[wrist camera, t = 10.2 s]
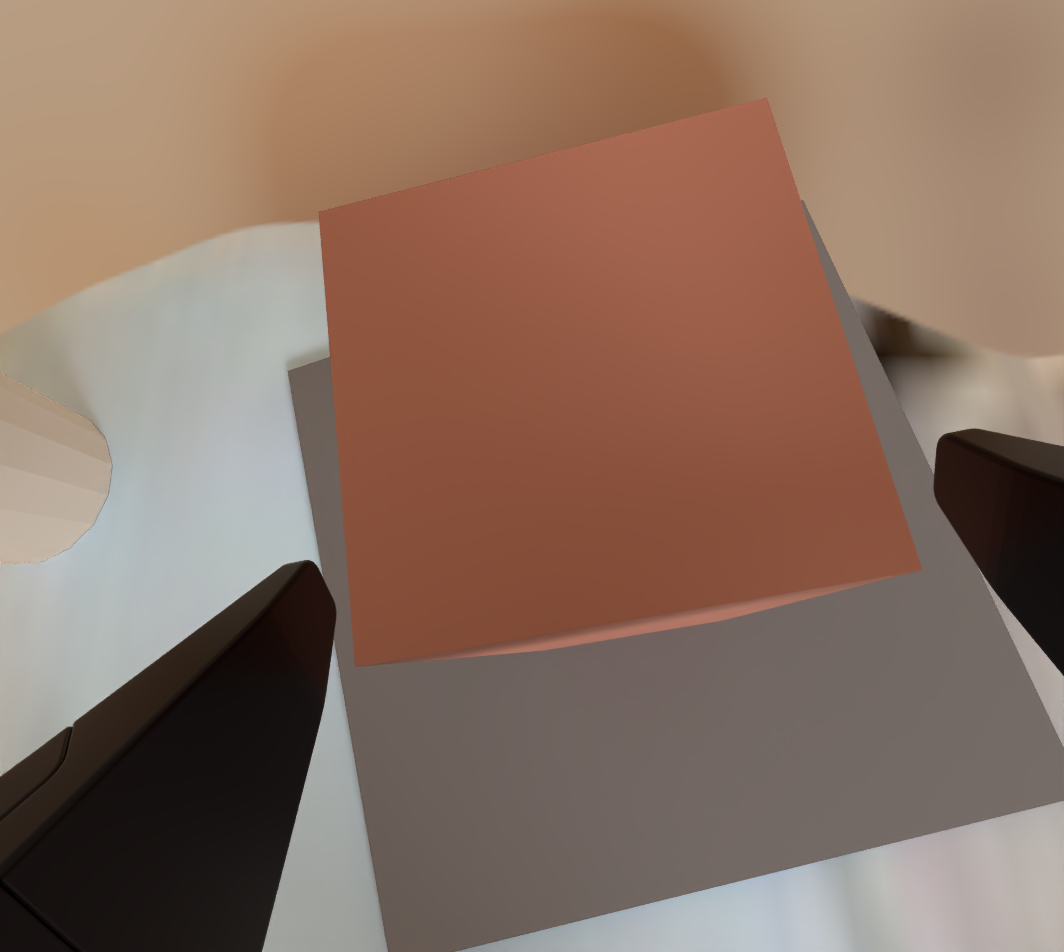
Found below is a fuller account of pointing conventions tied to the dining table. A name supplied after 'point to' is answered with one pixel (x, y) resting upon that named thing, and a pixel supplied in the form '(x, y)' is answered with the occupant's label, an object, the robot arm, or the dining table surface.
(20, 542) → the shot glass
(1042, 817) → the dining table surface
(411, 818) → the mat
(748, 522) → the card box
